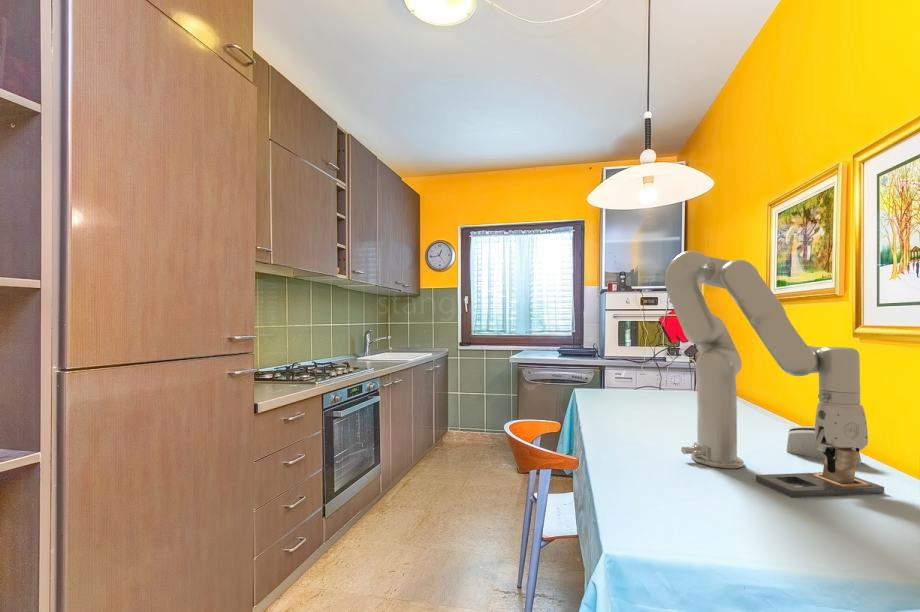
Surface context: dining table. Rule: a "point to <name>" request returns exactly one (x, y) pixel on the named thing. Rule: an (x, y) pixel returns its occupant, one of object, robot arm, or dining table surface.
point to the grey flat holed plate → (816, 485)
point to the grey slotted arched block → (805, 442)
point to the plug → (842, 466)
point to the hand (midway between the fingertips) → (840, 474)
